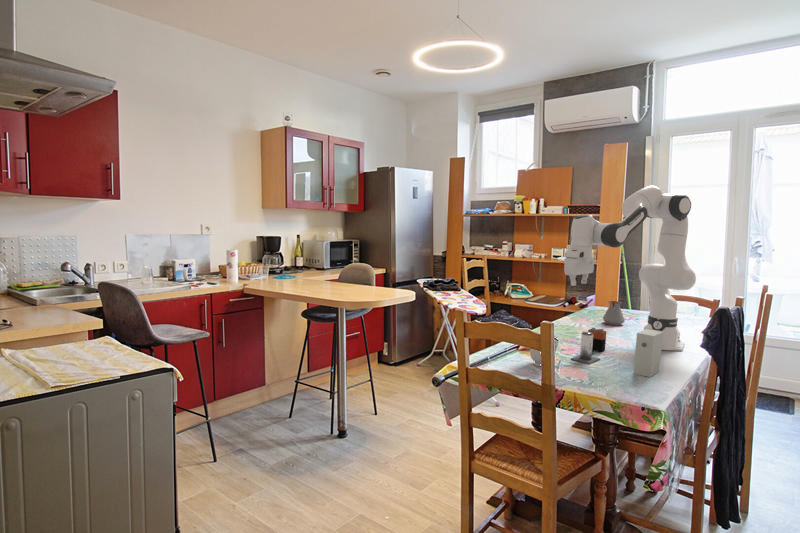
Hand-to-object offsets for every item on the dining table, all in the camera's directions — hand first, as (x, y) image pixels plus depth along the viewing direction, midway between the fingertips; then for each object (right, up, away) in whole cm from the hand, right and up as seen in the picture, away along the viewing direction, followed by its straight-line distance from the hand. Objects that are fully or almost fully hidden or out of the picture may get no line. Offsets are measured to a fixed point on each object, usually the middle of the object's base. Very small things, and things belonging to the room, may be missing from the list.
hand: (578, 284), depth 200 cm
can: (+1, -31, -5) cm, 31 cm away
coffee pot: (+43, -26, +63) cm, 80 cm away
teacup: (-20, -32, -12) cm, 39 cm away
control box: (+19, -34, -19) cm, 43 cm away
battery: (+12, -30, +11) cm, 35 cm away
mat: (+1, -31, -5) cm, 32 cm away
